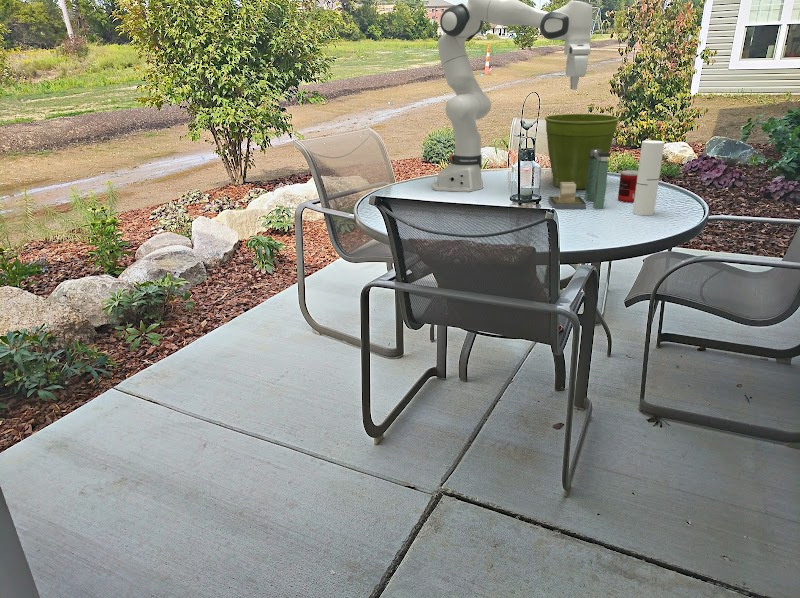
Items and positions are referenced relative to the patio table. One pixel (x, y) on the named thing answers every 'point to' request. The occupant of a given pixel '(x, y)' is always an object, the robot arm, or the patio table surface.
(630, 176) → the canned food
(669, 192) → the patio table surface
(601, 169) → the press base
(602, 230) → the patio table surface
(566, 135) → the plant pot
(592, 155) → the press lever
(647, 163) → the cylindrical container
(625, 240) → the patio table surface
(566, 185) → the block
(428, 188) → the patio table surface
